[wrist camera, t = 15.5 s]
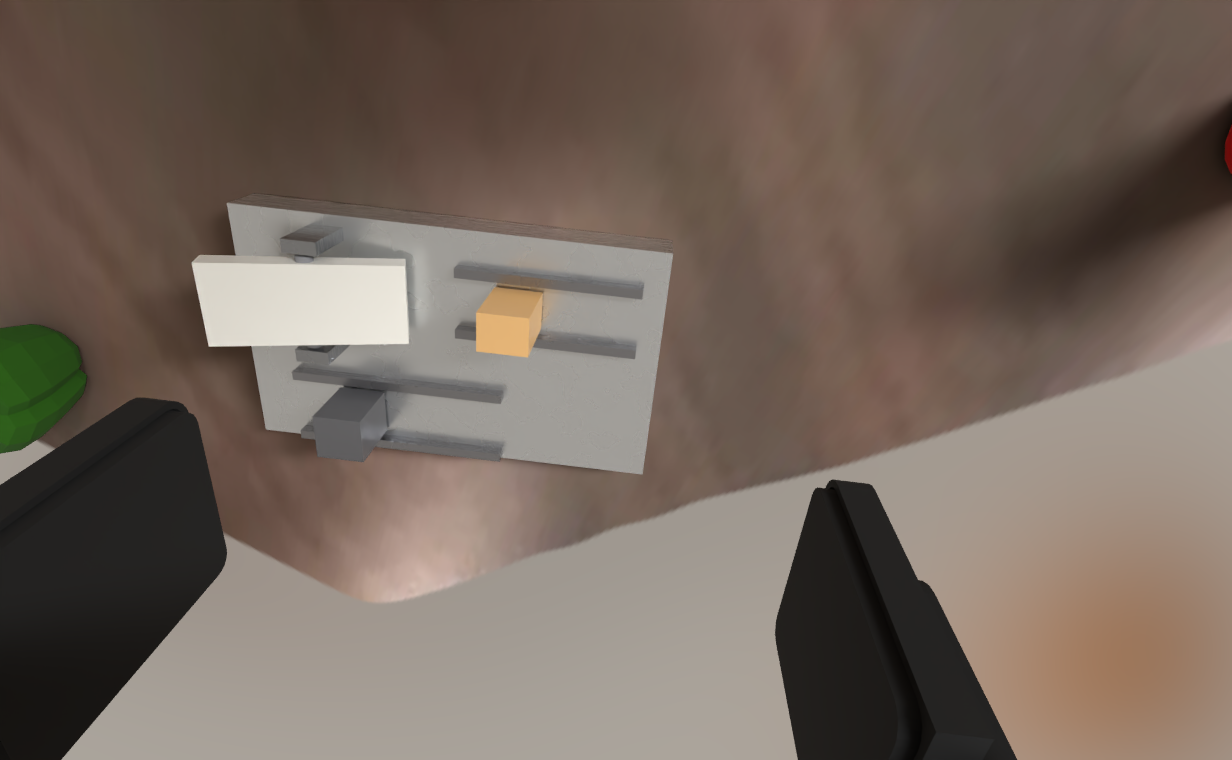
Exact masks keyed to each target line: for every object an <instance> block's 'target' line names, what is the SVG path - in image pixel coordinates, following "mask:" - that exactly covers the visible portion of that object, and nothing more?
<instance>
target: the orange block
mask: <svg viewBox="0 0 1232 760" xmlns="http://www.w3.org/2000/svg"><path fill="white" fill-rule="evenodd" d="M542 298H543V293H542V292H533V291H524V290H516V289H507V288H498V287H494V289H493V290H492V291H491V293H490V294H489V295H488V297H487V298H486V300H485V301H484V302H483V304H482V305H481V306H480V308H479V309H478V311H477V312H476V352H485V353H493V354H502V355H511V356H519V357H528V356H529V354H530V352H531V350H532V348H533V345H534V343H535V341H536V339H537V336H538V334H539V332H540V330H541V319H542Z"/></svg>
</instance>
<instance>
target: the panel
mask: <svg viewBox="0 0 1232 760" xmlns="http://www.w3.org/2000/svg"><path fill="white" fill-rule="evenodd" d="M227 208H228V214H229V219H230V225H231V231H232V237H233V242H234V248H235V254H236V256H283V257H294V255H295V254H298V255H307V256H313V257H335V258H388V259H406V279H407V298H408V317H409V344H365V345H323V346H322V347H319V348H308V347H306V345H289V346H252V352H253V358H254V364H255V369H256V375H257V381H258V387H259V392H260V398H261V404H262V410H263V416H264V421H265V427H266V430H275V431H283V432H292V433H300V434H301V438H306V439H314V440H315V434H314V426H313V419H312V416H313V415H314V414H315V413H316V412H317V411H318V410H319V409H320V408H321V407H322V406H323V405H324V404H325V403H326V402H327V401H328V400H329V399H330V398H331V397H332V396H333V395H334V394H335V393H336V392H337V390H338V389H339V388H340V387H343V388H351V389H360V390H368V391H377V392H384V395H385V408H386V422H387V431H386V432H385V434H384V435H383V436H382V438H381V439H380V440H379V442H378V443H377V444H376V446H375V447H381V448H390V449H398V450H407V451H415V452H423V453H432V454H440V455H448V456H457V457H465V458H473V459H482V460H490V461H499V462H500V459H501V458H509V459H518V460H526V461H535V462H543V463H551V464H560V465H568V466H576V467H585V468H593V469H602V470H610V471H618V472H627V473H635V474H642V473H643V466H644V459H645V452H646V445H647V437H648V430H649V423H650V416H651V409H652V402H653V394H654V387H655V380H656V373H657V366H658V359H659V351H660V344H661V337H662V330H663V323H664V316H665V308H666V301H667V294H668V287H669V280H670V273H671V265H672V258H673V241H672V240H663V239H654V238H646V237H637V236H628V235H619V234H610V233H601V232H593V231H584V230H575V229H566V228H557V227H548V226H540V225H531V224H522V223H513V222H504V221H495V220H487V219H478V218H469V217H460V216H451V215H442V214H434V213H425V212H416V211H407V210H398V209H389V208H381V207H372V206H363V205H354V204H345V203H337V202H328V201H319V200H310V199H301V198H292V197H284V196H275V195H266V194H257V193H254V194H251V195H248V196H245V197H242V198H239V199H236V200H234V201H231V202H228V203H227ZM494 287H498V288H507V289H516V290H524V291H533V292H542V293H543V298H542V319H541V330H540V332H539V334H538V336H537V339H536V341H535V343H534V345H533V348H532V350H531V352H530V354H529V356H528V357H519V356H511V355H502V354H493V353H485V352H476V312H477V311H478V309H479V308H480V306H481V305H482V304H483V302H484V301H485V300H486V298H487V297H488V295H489V294H490V293H491V291H492V290H493V289H494Z"/></svg>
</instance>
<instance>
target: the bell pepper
mask: <svg viewBox="0 0 1232 760" xmlns="http://www.w3.org/2000/svg"><path fill="white" fill-rule="evenodd" d="M81 363H82V360H81V357H80V353H79V350H78V346H76V345H75V344H74V343H73V342H72V341H70V340H69V339H68V338H67V337H66V336H65V335H63V334H62V333H60V332H57V331H55V330H52V329H50V328H47V327H45V326H41V325H34V324H29V325H21V326H13V327H5V328H0V453H6V452H12V451H18V450H21V449H23V448H25V447H26V446H28V445H29V444H31V443H32V442H34V441H35V440H37V439H39V438H40V437H42V436H43V435H44V434H45V433H46V432H47V431H48V430H50V429H51V428H52V427H53V426H54V425H55V424H56V423H57V422H58V421H59V420H60V419H61V418H62V417H63V416H64V415H65V414H66V413H67V412H68V411H69V410H70V409H71V408H72V407H73V405H74V404H75V403H76V402H77V401H78V400H79V398H80V397H81V396H82V395H83V393H84V389H85V386H86V379H87V375H86V374H85V373H83V372H82V371H81V370H80V369H79V367H80V365H81Z"/></svg>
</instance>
